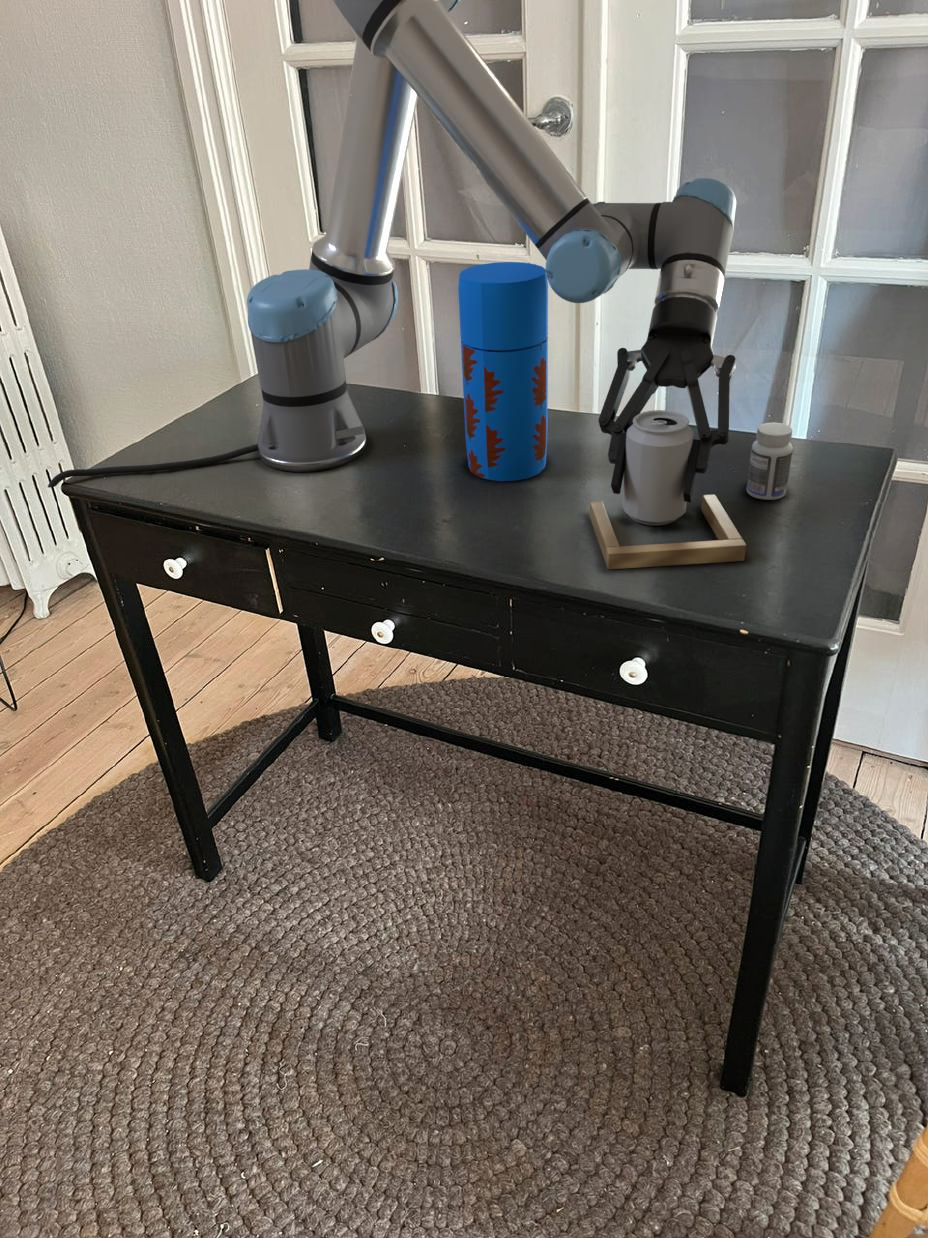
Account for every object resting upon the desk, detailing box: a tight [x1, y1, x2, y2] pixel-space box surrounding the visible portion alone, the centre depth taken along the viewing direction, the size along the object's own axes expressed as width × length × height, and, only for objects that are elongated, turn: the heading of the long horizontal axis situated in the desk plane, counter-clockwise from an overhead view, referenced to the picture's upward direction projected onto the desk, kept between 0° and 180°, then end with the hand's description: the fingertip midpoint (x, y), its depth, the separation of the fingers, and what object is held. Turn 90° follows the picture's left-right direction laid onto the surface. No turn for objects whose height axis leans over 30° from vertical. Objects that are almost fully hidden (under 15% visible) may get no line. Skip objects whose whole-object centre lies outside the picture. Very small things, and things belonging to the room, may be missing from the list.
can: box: [621, 409, 695, 526], centre depth 106 cm, size 8×8×12 cm
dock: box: [589, 494, 747, 570], centre depth 105 cm, size 15×12×2 cm
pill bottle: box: [746, 421, 794, 501], centre depth 111 cm, size 5×5×8 cm
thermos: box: [457, 261, 549, 482], centre depth 117 cm, size 11×11×25 cm
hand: (650, 493), depth 105 cm, fingers closed on can, 7 cm apart
